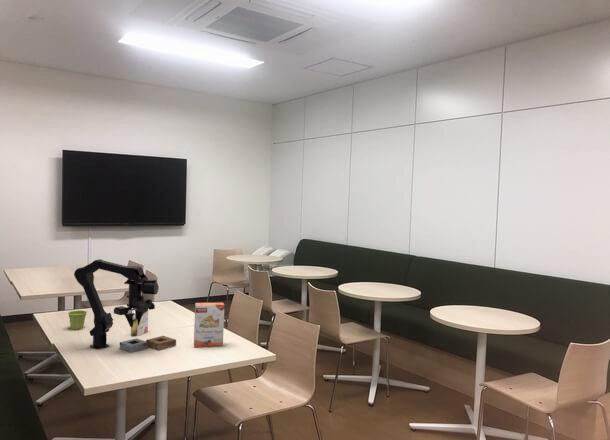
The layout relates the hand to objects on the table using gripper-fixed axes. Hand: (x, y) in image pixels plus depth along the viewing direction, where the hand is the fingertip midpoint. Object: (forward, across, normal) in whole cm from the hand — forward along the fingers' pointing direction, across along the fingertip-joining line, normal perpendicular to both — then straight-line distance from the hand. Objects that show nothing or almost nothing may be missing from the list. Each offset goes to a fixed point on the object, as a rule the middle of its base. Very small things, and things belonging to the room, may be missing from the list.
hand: (134, 326), depth 223 cm
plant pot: (+11, 0, +51) cm, 52 cm away
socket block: (+11, 0, 0) cm, 11 cm away
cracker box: (+11, +27, -22) cm, 36 cm away
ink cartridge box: (+11, +17, +20) cm, 28 cm away
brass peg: (+4, 0, 0) cm, 4 cm away
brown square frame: (+11, +11, -6) cm, 16 cm away
